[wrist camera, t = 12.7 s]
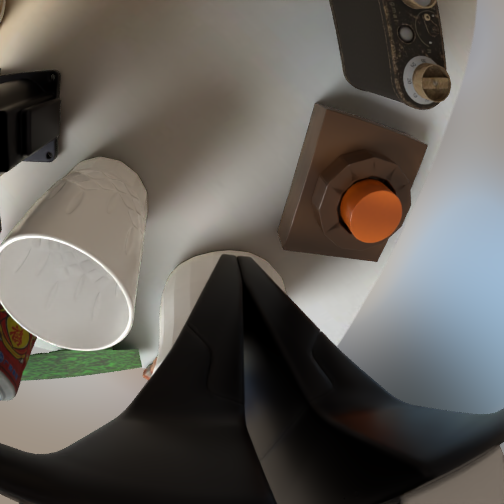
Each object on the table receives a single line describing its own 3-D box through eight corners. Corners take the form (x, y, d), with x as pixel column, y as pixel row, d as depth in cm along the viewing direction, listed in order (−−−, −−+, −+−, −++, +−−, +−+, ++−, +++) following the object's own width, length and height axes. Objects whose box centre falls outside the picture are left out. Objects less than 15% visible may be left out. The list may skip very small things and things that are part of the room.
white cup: (132, 258, 24) (110, 366, 16) (46, 220, 20) (-9, 317, 12) (175, 178, 20) (159, 280, 12) (75, 129, 17) (-6, 205, 9)
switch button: (377, 232, 20) (388, 246, 19) (332, 224, 19) (341, 239, 18) (397, 185, 18) (410, 197, 17) (351, 172, 18) (363, 184, 16)
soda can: (74, 287, 24) (30, 408, 14) (29, 305, 25) (-13, 407, 15) (29, 224, 20) (-48, 339, 10) (-12, 252, 21) (-75, 351, 11)
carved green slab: (142, 367, 29) (137, 344, 30) (68, 377, 18) (62, 343, 19) (66, 376, 30) (62, 356, 31) (-9, 381, 19) (-13, 355, 19)
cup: (142, 288, 25) (123, 387, 18) (229, 216, 22) (240, 318, 15) (217, 340, 30) (223, 429, 22) (301, 287, 27) (332, 381, 19)
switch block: (365, 245, 25) (385, 274, 22) (276, 232, 24) (287, 264, 20) (410, 135, 20) (441, 153, 17) (314, 102, 18) (336, 114, 15)
